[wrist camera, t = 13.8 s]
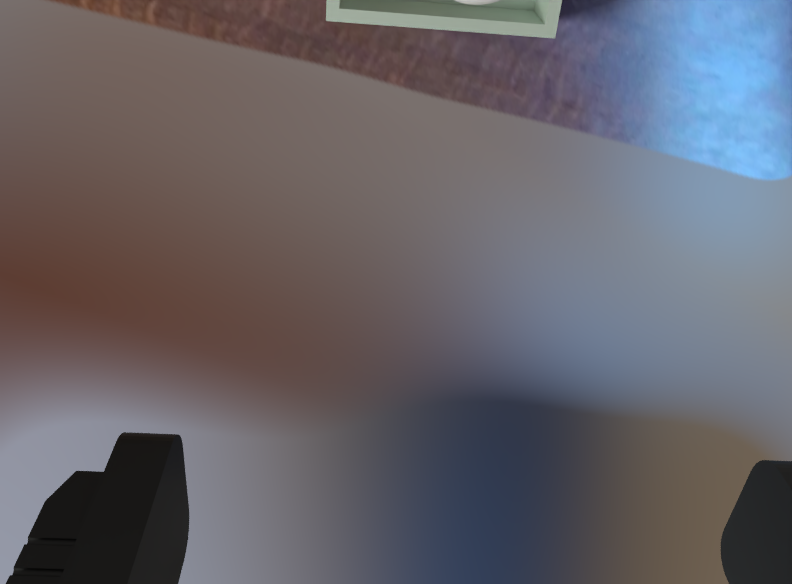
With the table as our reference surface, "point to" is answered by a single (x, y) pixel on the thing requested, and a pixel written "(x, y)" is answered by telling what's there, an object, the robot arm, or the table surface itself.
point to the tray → (453, 15)
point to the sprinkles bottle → (476, 1)
